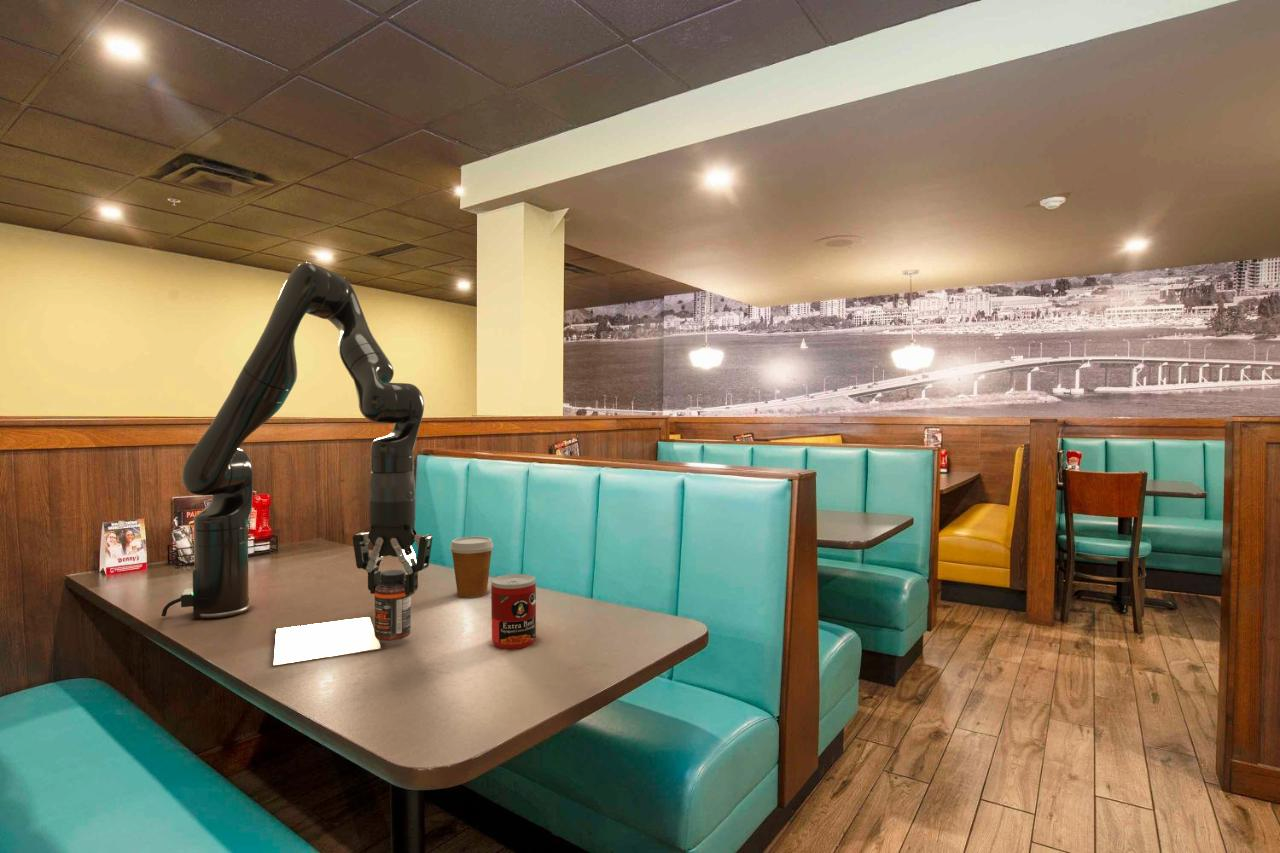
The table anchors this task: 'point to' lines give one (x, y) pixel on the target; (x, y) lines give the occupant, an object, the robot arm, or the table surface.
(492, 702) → the table surface
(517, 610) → the canned food
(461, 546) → the disposable coffee cup
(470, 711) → the table surface
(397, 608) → the supplement bottle
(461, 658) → the table surface
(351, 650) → the placemat
